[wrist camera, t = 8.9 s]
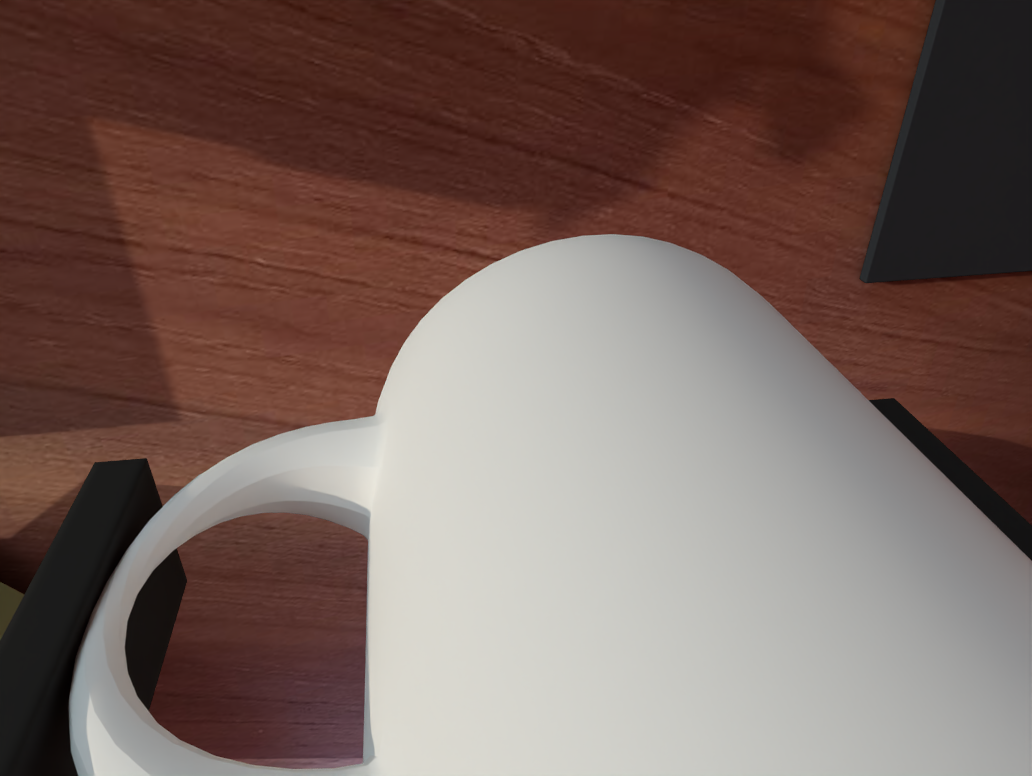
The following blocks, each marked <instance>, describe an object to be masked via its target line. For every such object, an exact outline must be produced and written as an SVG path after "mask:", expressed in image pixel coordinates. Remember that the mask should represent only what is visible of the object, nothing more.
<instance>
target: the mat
mask: <svg viewBox="0 0 1032 776" xmlns="http://www.w3.org/2000/svg"><path fill="white" fill-rule="evenodd" d="M1024 271H1032V0H936V2H935V5H934V9H933V13H932V16H931V20H930V24H929V27H928V31H927V35H926V38H925V42H924V46H923V49H922V53H921V57H920V60H919V64H918V67H917V71H916V75H915V78H914V82H913V86H912V89H911V93H910V97H909V100H908V104H907V108H906V111H905V115H904V119H903V122H902V126H901V129H900V133H899V137H898V140H897V144H896V148H895V151H894V155H893V159H892V162H891V166H890V170H889V173H888V177H887V181H886V184H885V188H884V191H883V195H882V199H881V202H880V206H879V210H878V213H877V217H876V221H875V224H874V228H873V232H872V235H871V239H870V243H869V246H868V250H867V253H866V257H865V261H864V264H863V268H862V272H861V275H860V279H861V280H862V281H863V282H865V283H874V282H888V281H901V280H915V279H928V278H942V277H956V276H969V275H983V274H996V273H1010V272H1024Z"/></svg>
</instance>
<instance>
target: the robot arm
mask: <svg viewBox="0 0 1032 776" xmlns="http://www.w3.org/2000/svg"><path fill="white" fill-rule="evenodd" d="M869 401H870V402H871V403H872V404H873V405H874V406H875V407H876V408H877V409H878V410H879V411H880V412H881V413H882V414H883V415H884V416H885V417H886V418H887V419H888V420H889V421H890V422H891V423H892V424H893V425H894V426H895V427H896V428H897V429H898V430H899V431H900V432H901V433H902V434H903V435H904V436H905V437H906V438H907V439H908V440H909V441H910V442H911V443H912V444H913V445H914V446H915V447H916V448H917V449H918V450H919V451H920V452H921V453H922V454H923V455H924V456H925V457H926V458H928V459H929V460H930V461H931V462H932V463H933V464H934V465H935V466H936V467H937V468H938V469H939V470H940V471H941V472H942V473H943V474H944V475H945V476H946V477H947V478H948V479H949V480H950V481H951V482H952V483H953V484H954V485H955V486H956V487H957V488H958V489H959V490H960V491H961V492H962V493H963V494H964V495H965V496H966V497H967V498H968V499H969V500H970V501H971V502H972V503H973V504H974V505H975V506H976V507H977V508H978V509H979V510H980V511H981V512H982V513H983V514H984V515H986V516H987V517H988V518H989V519H990V520H991V521H992V522H993V523H994V524H995V525H996V526H997V527H998V528H999V529H1000V530H1001V531H1002V532H1003V533H1004V534H1005V535H1006V536H1007V537H1008V538H1009V539H1010V540H1011V541H1012V542H1013V543H1014V544H1015V545H1016V546H1017V547H1018V548H1019V549H1020V550H1021V551H1022V552H1023V553H1024V554H1025V555H1026V556H1027V557H1028V558H1029V559H1030V560H1031V561H1032V525H1030V524H1029V523H1028V522H1027V521H1026V520H1025V519H1024V518H1023V517H1022V516H1021V515H1020V514H1019V513H1018V512H1016V511H1015V510H1014V509H1013V508H1012V507H1011V506H1010V505H1009V504H1008V503H1007V502H1006V501H1005V500H1003V499H1002V498H1001V497H1000V496H999V495H998V494H997V493H996V492H995V491H994V490H993V489H992V488H990V487H989V486H988V485H987V484H986V483H985V482H984V481H983V480H982V479H981V478H980V477H979V476H978V475H976V474H975V473H974V472H973V471H972V470H971V469H970V468H969V467H968V466H967V465H966V464H965V463H963V462H962V461H961V460H960V459H959V458H958V457H957V456H956V455H955V454H954V453H953V452H952V451H950V450H949V449H948V448H947V447H946V446H945V445H944V444H943V443H942V442H941V441H940V440H939V439H938V438H936V437H935V436H934V435H933V434H932V433H931V432H930V431H929V430H928V429H927V428H926V427H925V426H923V425H922V424H921V423H920V422H919V421H918V420H917V419H916V418H915V417H914V416H913V415H912V414H911V413H909V412H908V411H907V410H906V409H905V408H904V407H903V406H902V405H901V404H900V403H899V402H898V401H896V400H895V399H894V398H892V399H879V400H869ZM162 507H163V506H162V503H161V500H160V497H159V494H158V491H157V488H156V485H155V482H154V479H153V476H152V473H151V470H150V467H149V464H148V461H147V458H145V459H132V460H120V461H108V462H95V463H94V465H93V467H92V469H91V471H90V473H89V474H88V476H87V478H86V480H85V482H84V484H83V486H82V488H81V489H80V491H79V493H78V495H77V497H76V499H75V501H74V503H73V504H72V506H71V508H70V510H69V512H68V514H67V516H66V518H65V519H64V521H63V523H62V525H61V527H60V529H59V531H58V533H57V534H56V536H55V538H54V540H53V542H52V544H51V546H50V548H49V550H48V551H47V553H46V555H45V557H44V559H43V561H42V563H41V565H40V566H39V568H38V570H37V572H36V574H35V576H34V578H33V580H32V581H31V583H30V585H29V587H28V589H27V591H26V593H25V595H24V596H23V598H22V600H21V602H20V604H19V606H18V608H17V610H16V611H15V613H14V615H13V617H12V619H11V621H10V623H9V625H8V626H7V628H6V630H5V632H4V634H3V636H2V638H1V640H0V776H78V773H77V770H76V767H75V763H74V760H73V757H72V753H71V745H70V729H69V713H68V704H69V696H70V689H71V683H72V676H73V669H74V663H75V658H76V655H77V652H78V649H79V646H80V643H81V640H82V638H83V635H84V632H85V629H86V627H87V624H88V621H89V619H90V616H91V614H92V611H93V609H94V607H95V605H96V603H97V601H98V599H99V597H100V595H101V593H102V591H103V589H104V587H105V585H106V583H107V581H108V579H109V578H110V576H111V574H112V573H113V571H114V569H115V568H116V566H117V565H118V563H119V561H120V560H121V558H122V557H123V555H124V553H125V552H126V550H127V549H128V548H129V546H130V545H131V544H132V542H133V541H134V540H135V538H136V537H137V536H138V535H139V533H140V532H141V531H142V529H143V528H144V527H145V525H146V524H147V523H148V521H149V520H150V519H151V518H152V517H153V516H154V515H155V514H156V513H157V512H158V511H159V510H160V509H161V508H162ZM186 583H187V579H186V576H185V572H184V569H183V566H182V563H181V560H180V557H179V554H178V551H177V548H176V549H175V550H173V551H172V552H171V553H170V554H169V555H168V556H167V557H166V558H165V559H164V560H163V561H162V562H161V563H160V564H159V565H158V566H157V567H156V568H155V569H154V570H153V571H152V573H151V574H150V576H149V577H148V579H147V580H146V582H145V583H144V585H143V586H142V588H141V589H140V591H139V592H138V594H137V597H136V599H135V602H134V605H133V607H132V610H131V613H130V615H129V618H128V621H127V630H126V639H125V655H126V662H127V669H128V675H129V677H130V679H131V682H132V684H133V687H134V689H135V692H136V694H137V697H138V698H139V699H140V701H141V702H142V703H143V705H144V706H145V707H146V709H147V710H148V711H149V708H150V705H151V701H152V698H153V695H154V691H155V688H156V684H157V681H158V678H159V674H160V671H161V667H162V664H163V661H164V657H165V654H166V651H167V647H168V644H169V640H170V637H171V634H172V630H173V627H174V624H175V620H176V617H177V613H178V610H179V607H180V603H181V600H182V596H183V593H184V590H185V586H186Z"/></svg>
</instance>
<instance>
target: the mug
mask: <svg viewBox="0 0 1032 776" xmlns="http://www.w3.org/2000/svg"><path fill="white" fill-rule="evenodd" d="M260 513H294V514H302V515H309V516H312V517H316V518H320V519H324V520H328V521H331V522H334V523H337V524H339V525H342V526H345V527H348V528H350V529H352V530H354V531H356V532H358V533H360V534H362V535H364V536H365V537H366V538H367V540H368V569H367V618H366V661H365V703H364V740H363V763H362V764H357V765H351V766H345V767H339V768H328V769H288V768H278V767H268V766H257V765H251V764H247V763H243V762H239V761H234V760H230V759H226V758H222V757H218V756H214V755H212V754H210V753H208V752H206V751H203V750H201V749H199V748H197V747H194V746H192V745H190V744H188V743H186V742H183V741H181V740H180V739H178V738H177V737H176V736H174V735H173V734H171V733H170V732H169V731H167V730H166V729H165V728H163V727H162V726H161V725H159V724H158V723H157V722H156V720H155V719H154V718H153V716H152V715H151V714H150V712H149V711H148V710H147V709H146V707H145V706H144V705H143V703H142V702H141V701H140V699H139V698H138V697H137V694H136V692H135V689H134V687H133V684H132V682H131V679H130V677H129V675H128V669H127V662H126V655H125V639H126V630H127V621H128V618H129V615H130V613H131V610H132V607H133V605H134V602H135V599H136V597H137V594H138V592H139V591H140V589H141V588H142V586H143V585H144V583H145V582H146V580H147V579H148V577H149V576H150V574H151V573H152V571H153V570H154V569H155V568H156V567H157V566H158V565H159V564H160V563H161V562H162V561H163V560H164V559H165V558H166V557H167V556H168V555H169V554H170V553H171V552H172V551H173V550H175V549H176V548H178V547H179V546H180V545H182V544H183V543H185V542H186V541H188V540H189V539H191V538H192V537H193V536H195V535H197V534H199V533H201V532H203V531H205V530H207V529H209V528H211V527H213V526H215V525H217V524H219V523H221V522H225V521H228V520H231V519H234V518H238V517H241V516H247V515H253V514H260ZM68 713H69V729H70V745H71V753H72V757H73V760H74V763H75V767H76V770H77V773H78V776H1032V561H1031V560H1030V559H1029V558H1028V557H1027V556H1026V555H1025V554H1024V553H1023V552H1022V551H1021V550H1020V549H1019V548H1018V547H1017V546H1016V545H1015V544H1014V543H1013V542H1012V541H1011V540H1010V539H1009V538H1008V537H1007V536H1006V535H1005V534H1004V533H1003V532H1002V531H1001V530H1000V529H999V528H998V527H997V526H996V525H995V524H994V523H993V522H992V521H991V520H990V519H989V518H988V517H987V516H986V515H984V514H983V513H982V512H981V511H980V510H979V509H978V508H977V507H976V506H975V505H974V504H973V503H972V502H971V501H970V500H969V499H968V498H967V497H966V496H965V495H964V494H963V493H962V492H961V491H960V490H959V489H958V488H957V487H956V486H955V485H954V484H953V483H952V482H951V481H950V480H949V479H948V478H947V477H946V476H945V475H944V474H943V473H942V472H941V471H940V470H939V469H938V468H937V467H936V466H935V465H934V464H933V463H932V462H931V461H930V460H929V459H928V458H926V457H925V456H924V455H923V454H922V453H921V452H920V451H919V450H918V449H917V448H916V447H915V446H914V445H913V444H912V443H911V442H910V441H909V440H908V439H907V438H906V437H905V436H904V435H903V434H902V433H901V432H900V431H899V430H898V429H897V428H896V427H895V426H894V425H893V424H892V423H891V422H890V421H889V420H888V419H887V418H886V417H885V416H884V415H883V414H882V413H881V412H880V411H879V410H878V409H877V408H876V407H875V406H874V405H873V404H872V403H871V402H870V401H869V400H867V399H866V398H865V397H864V396H863V395H862V394H861V393H860V392H859V391H858V390H857V389H856V388H855V387H854V386H853V385H852V384H851V383H850V382H849V381H848V380H847V379H846V378H845V377H844V376H843V375H842V374H841V373H840V372H839V371H838V370H837V369H836V368H835V367H834V366H833V365H832V364H831V363H830V362H829V361H828V360H827V359H826V358H825V357H824V356H823V355H822V354H821V353H820V352H819V351H818V350H817V349H816V348H815V347H814V346H813V345H812V344H811V343H809V342H808V341H807V340H806V339H805V338H804V337H803V336H802V335H801V334H800V333H799V332H798V331H797V330H796V329H795V328H794V327H793V326H792V325H791V324H790V323H789V322H788V321H787V320H786V319H785V318H784V317H783V316H782V315H781V314H780V313H779V312H778V311H777V310H776V309H775V308H774V307H773V306H772V305H771V304H769V303H768V302H767V301H766V300H765V299H764V298H763V297H762V296H761V295H759V294H758V293H757V292H756V291H754V290H753V289H752V288H751V287H749V286H748V285H747V284H746V283H744V282H743V281H742V280H741V279H739V278H738V277H737V276H736V275H734V274H733V273H732V272H731V271H729V270H728V269H726V268H724V267H722V266H721V265H719V264H717V263H715V262H713V261H712V260H710V259H708V258H706V257H704V256H702V255H700V254H698V253H696V252H693V251H691V250H688V249H685V248H683V247H680V246H677V245H675V244H672V243H669V242H664V241H660V240H655V239H651V238H646V237H641V236H628V235H615V234H609V235H590V236H579V237H573V238H568V239H562V240H556V241H551V242H548V243H545V244H541V245H538V246H535V247H532V248H528V249H525V250H522V251H519V252H517V253H515V254H513V255H511V256H508V257H506V258H504V259H502V260H499V261H497V262H495V263H493V264H491V265H489V266H488V267H486V268H484V269H483V270H481V271H479V272H478V273H476V274H474V275H473V276H471V277H470V278H468V279H466V280H465V281H464V282H462V283H461V284H460V285H458V286H457V287H456V288H455V289H453V290H452V291H451V292H450V293H448V294H447V295H446V296H444V297H443V298H442V299H441V300H440V301H439V302H438V303H437V304H436V305H435V306H434V307H433V308H432V309H431V310H430V311H429V312H428V313H427V314H426V315H425V316H424V317H423V318H422V319H421V321H420V322H419V323H418V325H417V326H416V328H415V329H414V330H413V332H412V333H411V334H410V336H409V337H408V338H407V340H406V341H405V343H404V344H403V346H402V348H401V350H400V352H399V353H398V355H397V357H396V359H395V361H394V363H393V364H392V366H391V369H390V371H389V374H388V377H387V379H386V382H385V385H384V387H383V390H382V393H381V395H380V398H379V401H378V405H377V410H376V414H375V415H374V416H371V417H365V418H359V419H353V420H345V421H337V422H330V423H325V424H319V425H314V426H309V427H304V428H301V429H297V430H293V431H290V432H286V433H282V434H279V435H276V436H274V437H271V438H268V439H266V440H263V441H260V442H258V443H255V444H253V445H251V446H249V447H247V448H245V449H243V450H241V451H239V452H237V453H235V454H233V455H231V456H229V457H227V458H226V459H224V460H222V461H221V462H219V463H218V464H216V465H215V466H213V467H211V468H210V469H208V470H207V471H205V472H204V473H202V474H200V475H199V476H197V477H196V478H195V479H194V480H192V481H191V482H190V483H189V484H188V485H186V486H185V487H184V488H183V489H181V490H180V491H179V492H178V493H176V494H175V495H174V496H173V497H172V498H171V499H170V500H169V501H168V502H167V503H166V504H165V505H164V506H163V507H162V508H161V509H160V510H159V511H158V512H157V513H156V514H155V515H154V516H153V517H152V518H151V519H150V520H149V521H148V523H147V524H146V525H145V527H144V528H143V529H142V531H141V532H140V533H139V535H138V536H137V537H136V538H135V540H134V541H133V542H132V544H131V545H130V546H129V548H128V549H127V550H126V552H125V553H124V555H123V557H122V558H121V560H120V561H119V563H118V565H117V566H116V568H115V569H114V571H113V573H112V574H111V576H110V578H109V579H108V581H107V583H106V585H105V587H104V589H103V591H102V593H101V595H100V597H99V599H98V601H97V603H96V605H95V607H94V609H93V611H92V614H91V616H90V619H89V621H88V624H87V627H86V629H85V632H84V635H83V638H82V640H81V643H80V646H79V649H78V652H77V655H76V658H75V663H74V669H73V676H72V683H71V689H70V696H69V704H68Z"/></svg>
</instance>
